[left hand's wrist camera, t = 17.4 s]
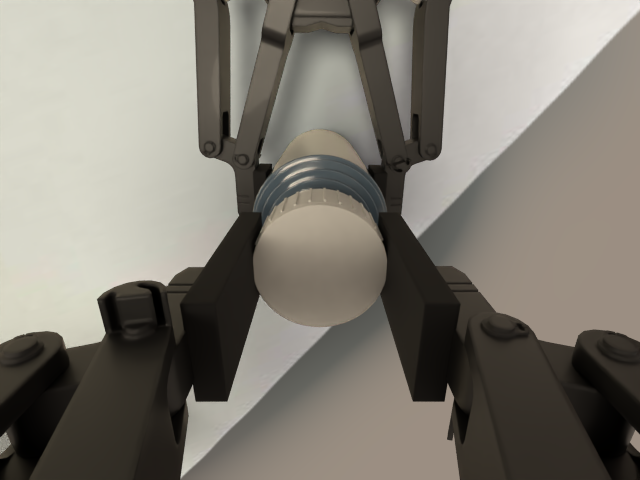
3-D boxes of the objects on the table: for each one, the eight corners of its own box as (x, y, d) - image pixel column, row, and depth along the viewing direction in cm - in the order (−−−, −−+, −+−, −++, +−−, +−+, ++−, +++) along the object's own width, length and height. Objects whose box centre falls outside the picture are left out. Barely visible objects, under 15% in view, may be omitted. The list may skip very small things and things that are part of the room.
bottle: (286, 122, 27) (237, 160, 11) (366, 136, 28) (430, 191, 12) (276, 201, 30) (224, 325, 13) (350, 212, 30) (386, 347, 14)
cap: (299, 314, 15) (296, 348, 13) (236, 224, 14) (222, 247, 12) (399, 264, 14) (412, 292, 12) (343, 163, 13) (347, 176, 11)
